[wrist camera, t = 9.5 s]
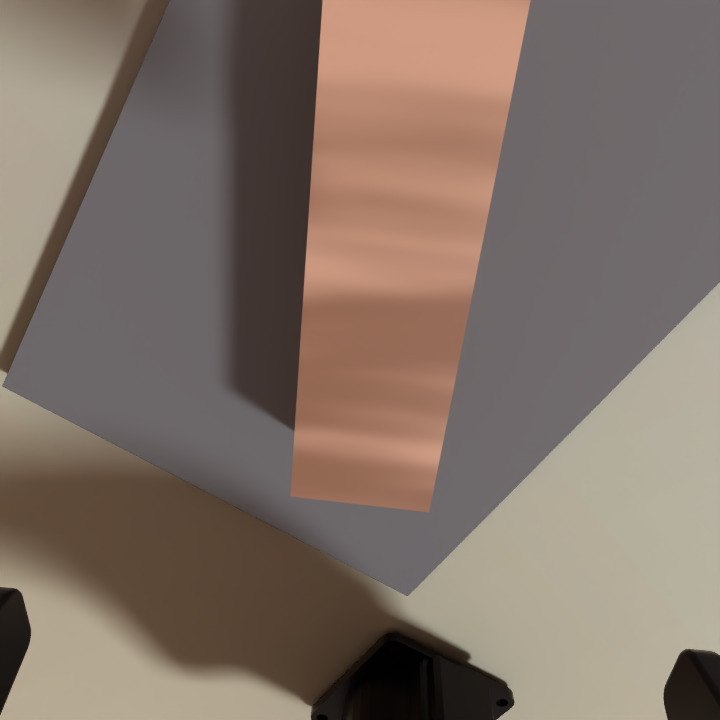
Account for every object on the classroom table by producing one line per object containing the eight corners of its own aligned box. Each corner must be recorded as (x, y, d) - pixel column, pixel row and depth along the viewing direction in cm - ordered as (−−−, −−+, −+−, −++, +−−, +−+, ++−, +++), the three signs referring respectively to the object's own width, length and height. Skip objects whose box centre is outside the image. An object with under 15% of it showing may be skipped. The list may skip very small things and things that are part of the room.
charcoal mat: (407, 583, 24) (407, 596, 24) (12, 377, 21) (2, 386, 20) (856, 125, 16) (872, 128, 15) (326, -337, 13) (323, -354, 12)
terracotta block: (428, 512, 18) (533, -14, 12) (290, 496, 18) (324, -37, 12) (425, 451, 20) (508, -4, 15) (304, 437, 20) (338, -23, 15)
